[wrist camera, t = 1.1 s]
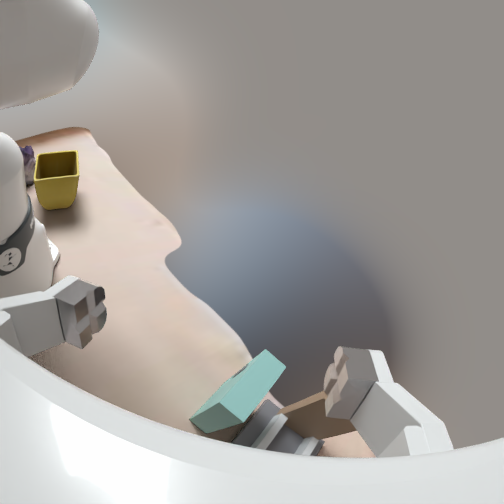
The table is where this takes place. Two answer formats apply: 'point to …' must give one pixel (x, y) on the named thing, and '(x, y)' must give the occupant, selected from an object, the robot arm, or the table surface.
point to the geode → (28, 164)
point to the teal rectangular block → (239, 394)
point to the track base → (279, 440)
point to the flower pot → (56, 178)
